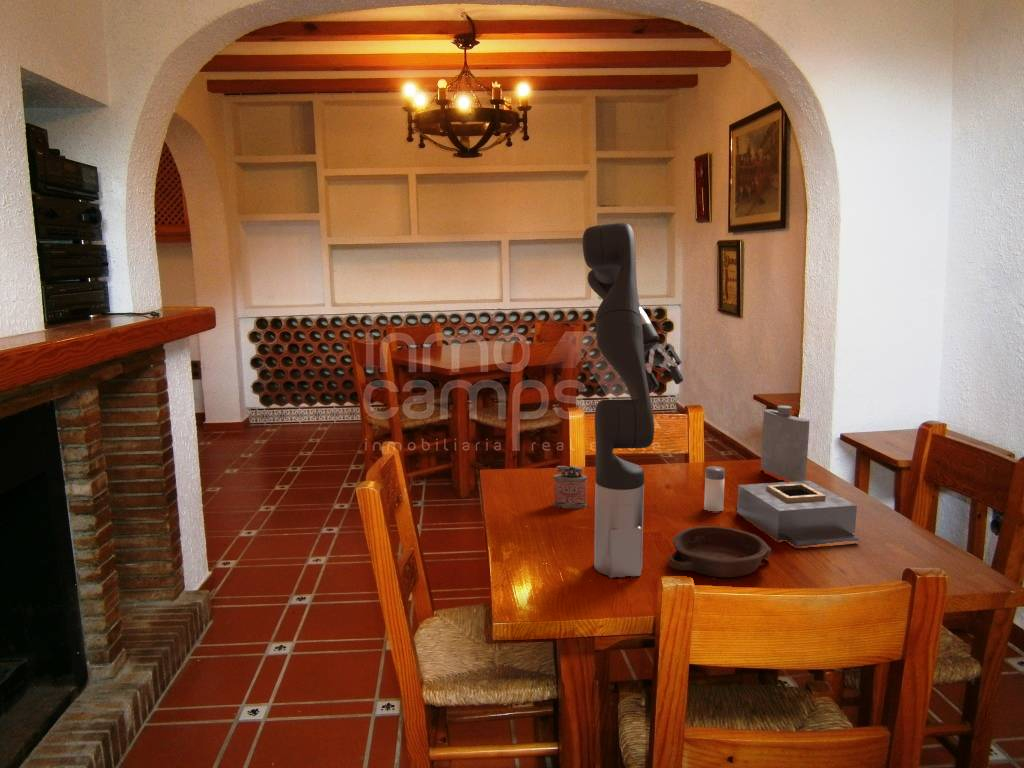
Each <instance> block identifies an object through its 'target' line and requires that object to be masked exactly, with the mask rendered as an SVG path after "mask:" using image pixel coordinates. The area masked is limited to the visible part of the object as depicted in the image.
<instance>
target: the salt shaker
mask: <svg viewBox="0 0 1024 768" xmlns="http://www.w3.org/2000/svg"><path fill="white" fill-rule="evenodd" d="M725 474H726V468H724V467H722V466H715V465H711V466H707V467H705V477H704V480H705V481H704V482H705V483H704V501H703V502H704V505H703V510H705V511H706V510H708V511H707V512H709V511H716V512H715V513H718V512H717V511H722V510H723V511H724V503H725V502H724V499H725V497H724V496H725V481H726V480H725V479H726V478H725V477H726V475H725ZM723 511H722V512H723Z"/></svg>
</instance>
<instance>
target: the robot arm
mask: <svg viewBox="0 0 1024 768" xmlns="http://www.w3.org/2000/svg"><path fill="white" fill-rule="evenodd" d="M582 253H583V259H584V262H585V264H586V265H587V267H588V268H590V269H591V270H590V271H589V272H588V274H587V283H588V285H589V287H590V289H592V291H594V292H595V293H596V294H597V295H598V296H599V298H601V299H602V301H601V302H600V304H599V306H598V308H597V310H596V314H595V319H594V320H595V321H594V322H595V335H596V345H597V347H598V350H599V351H600V353H601V355H602V356H603V358H604V359H605V360H606V361H607V363H609V365H610V366H611V368H612V369H614V371H616V373H617V374H618V376H620V378H621V380H622V381H623V383H624V385H625V386H626V389H627V391H628V393H629V397H630V399H626V398H625V399H623V398H622V399H621V398H620V399H601V400H599V401H598V402H597V404H596V405H595V409H594V410H595V411H594V436H595V437H594V438H595V439H594V440H595V476H594V477H595V479H594V481H595V482H594V485H595V486H594V487H595V492H594V493H595V495H594V543H593V544H594V545H593V546H594V549H593V550H594V551H593V552H594V554H593V555H594V557H593V558H594V559H593V562H594V564H593V567H594V569H595V570H596V571H597V572H598V573H600V574H602V575H604V574H605V575H604V576H607V575H608V577H610V578H609V579H616V578H615V577H619V578H626V577H625V576H631V577H640V575H641V576H642V570H643V545H644V544H643V543H644V542H643V539H644V538H643V537H644V503H645V502H644V500H645V499H644V498H645V496H644V495H645V471H644V469H643V467H642V466H640V465H638V464H636V463H633V462H631V461H628V460H625V459H622V458H621V457H619V456H617V455H616V454H615V453H614V449H645V448H646V449H647V448H649V447H650V446H652V444H653V441H654V438H655V420H654V412H653V406H652V401H651V394H650V390H649V389H651V391H656V390H657V389H659V387H660V384H659V382H658V380H657V378H656V376H655V375H654V373H653V372H652V368H653V367H654V366H655V367H656V366H659V367H661V368H665V370H667V371H668V372H669V375H670V376H671V378H672V380H673V382H674V384H676V385H679V384H681V383H682V382H683V381H684V377H683V375H682V373H681V372H680V370H679V368H678V367H679V365H682V360H681V359H680V357H679V356H678V354H677V352H676V350H675V349H674V347H673V346H672V344H671V343H667V344H666V345H664V346H662V344H661V343H660V336H659V334H658V332H657V331H656V328H655V327H654V325H653V323H652V322H651V319H650V318H649V316H648V314H647V313H646V311H645V310H644V308H642V306H641V304H640V302H639V299H640V298H639V293H638V283H637V281H638V280H637V279H638V278H637V261H636V260H637V259H636V258H637V257H636V256H637V255H636V239H635V235H634V230H633V228H632V226H631V224H629V223H627V222H616V223H609V224H608V223H607V224H598V225H592V226H589V227H588V228H586V229H585V230H584V232H583V235H582ZM613 577H614V578H613Z"/></svg>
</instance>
